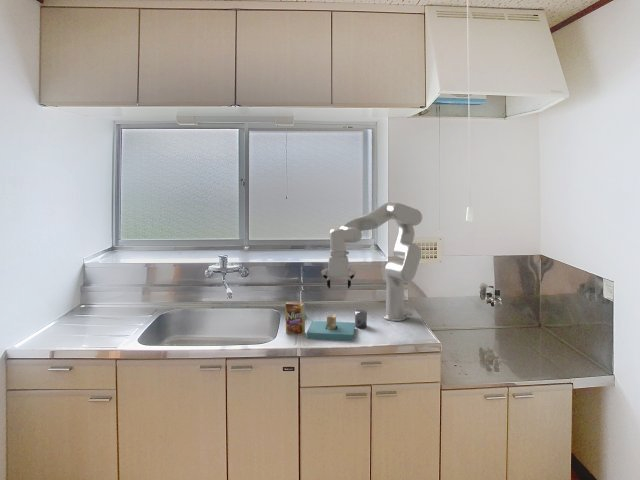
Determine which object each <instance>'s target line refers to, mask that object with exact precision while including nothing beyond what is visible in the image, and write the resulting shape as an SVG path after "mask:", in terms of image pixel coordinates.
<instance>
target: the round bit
mask: <svg viewBox="0 0 640 480" xmlns="http://www.w3.org/2000/svg"><path fill="white" fill-rule="evenodd" d="M367 315H368V311H367V310H365V309H356V310H355V311H354V323H355V328H356V329H360V330H362V329H366V328H367V327H368V324H367V323H368V319H367V317H368V316H367Z"/></svg>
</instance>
